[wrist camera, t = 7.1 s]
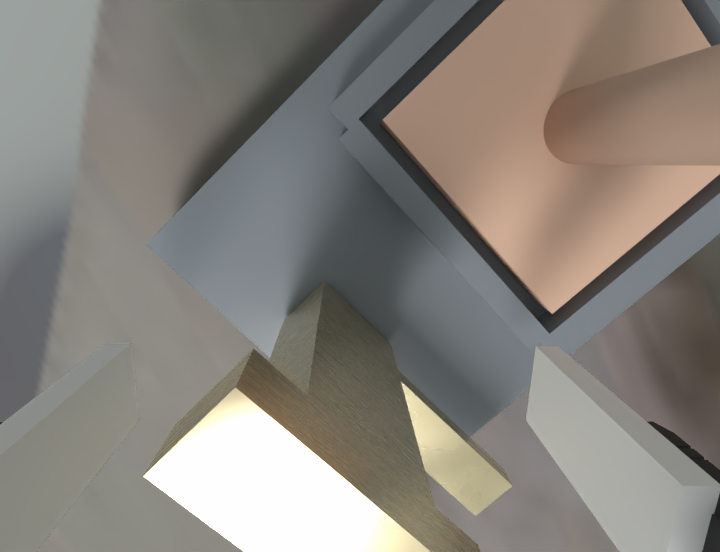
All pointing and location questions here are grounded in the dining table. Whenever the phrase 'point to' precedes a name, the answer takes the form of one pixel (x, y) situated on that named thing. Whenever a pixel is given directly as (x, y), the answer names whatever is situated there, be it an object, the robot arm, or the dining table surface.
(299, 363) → the key
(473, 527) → the dining table surface
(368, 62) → the housing
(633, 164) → the cover
